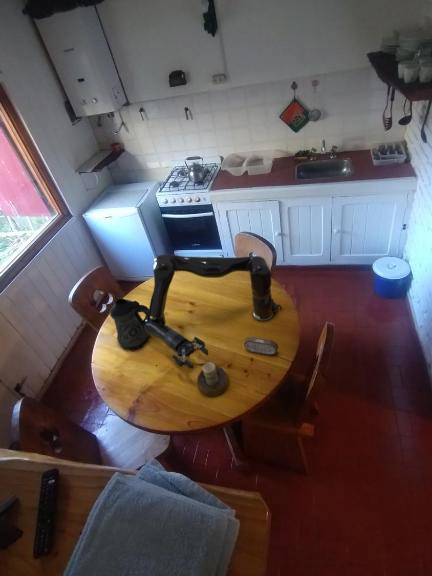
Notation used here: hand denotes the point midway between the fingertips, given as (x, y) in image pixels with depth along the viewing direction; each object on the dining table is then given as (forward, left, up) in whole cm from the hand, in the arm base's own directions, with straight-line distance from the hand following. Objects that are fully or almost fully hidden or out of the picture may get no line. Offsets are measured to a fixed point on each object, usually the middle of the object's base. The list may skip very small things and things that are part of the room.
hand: (200, 360), depth 143 cm
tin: (-27, +3, -12) cm, 30 cm away
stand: (-1, +5, -12) cm, 13 cm away
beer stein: (+17, -41, -12) cm, 46 cm away
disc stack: (-1, +5, -9) cm, 10 cm away
